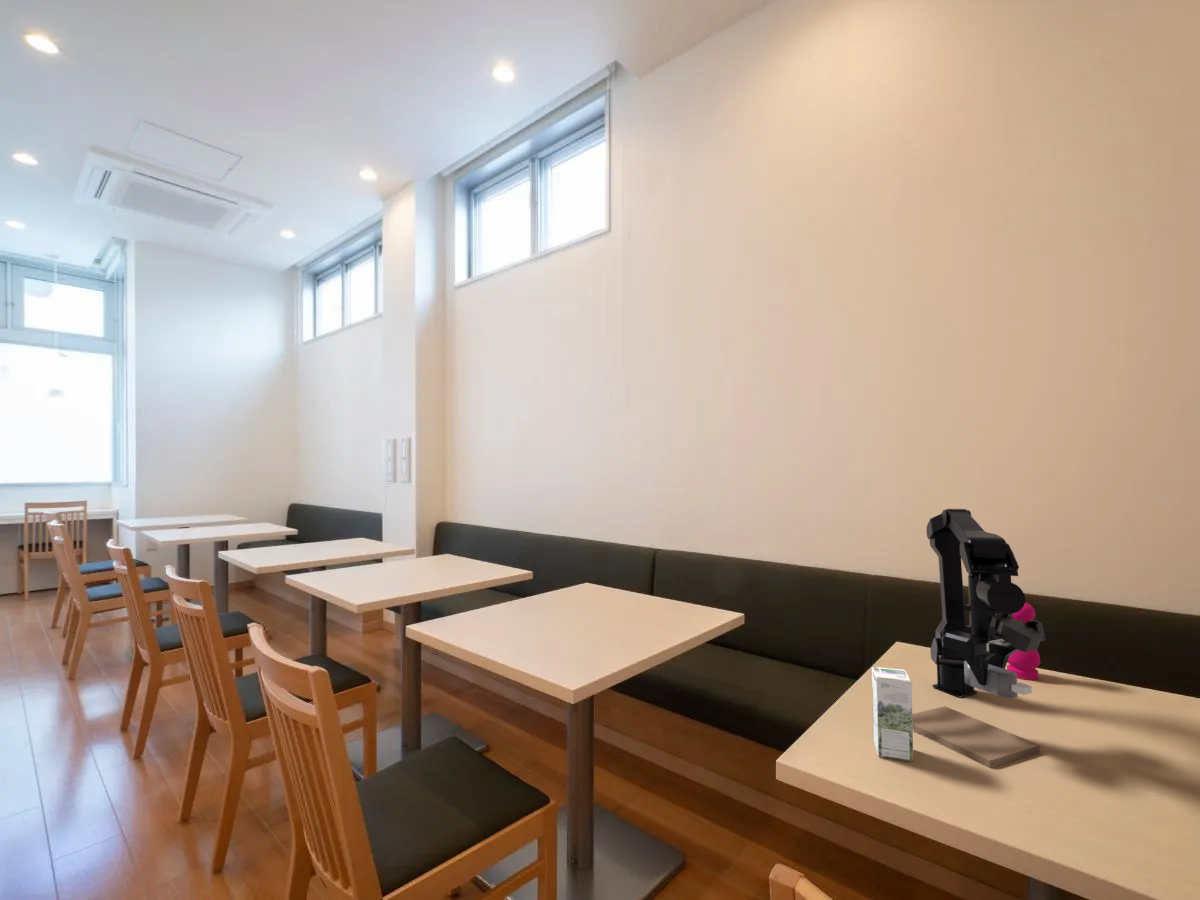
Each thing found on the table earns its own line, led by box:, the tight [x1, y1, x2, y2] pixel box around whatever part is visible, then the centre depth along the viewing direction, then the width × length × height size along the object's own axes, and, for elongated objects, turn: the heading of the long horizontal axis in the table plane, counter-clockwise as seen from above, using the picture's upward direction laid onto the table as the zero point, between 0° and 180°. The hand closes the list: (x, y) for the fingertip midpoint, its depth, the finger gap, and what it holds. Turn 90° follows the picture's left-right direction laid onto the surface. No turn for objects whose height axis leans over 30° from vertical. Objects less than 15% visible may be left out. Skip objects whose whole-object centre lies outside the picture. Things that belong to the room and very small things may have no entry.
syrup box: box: [871, 666, 914, 762], centre depth 99 cm, size 6×6×14 cm
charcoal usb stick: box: [964, 661, 1033, 699], centre depth 103 cm, size 11×4×4 cm, turn 23°
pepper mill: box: [1006, 601, 1041, 681], centre depth 136 cm, size 7×7×20 cm
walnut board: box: [912, 706, 1041, 768], centre depth 104 cm, size 18×14×1 cm
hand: (989, 683), depth 104 cm, fingers closed on charcoal usb stick, 4 cm apart
